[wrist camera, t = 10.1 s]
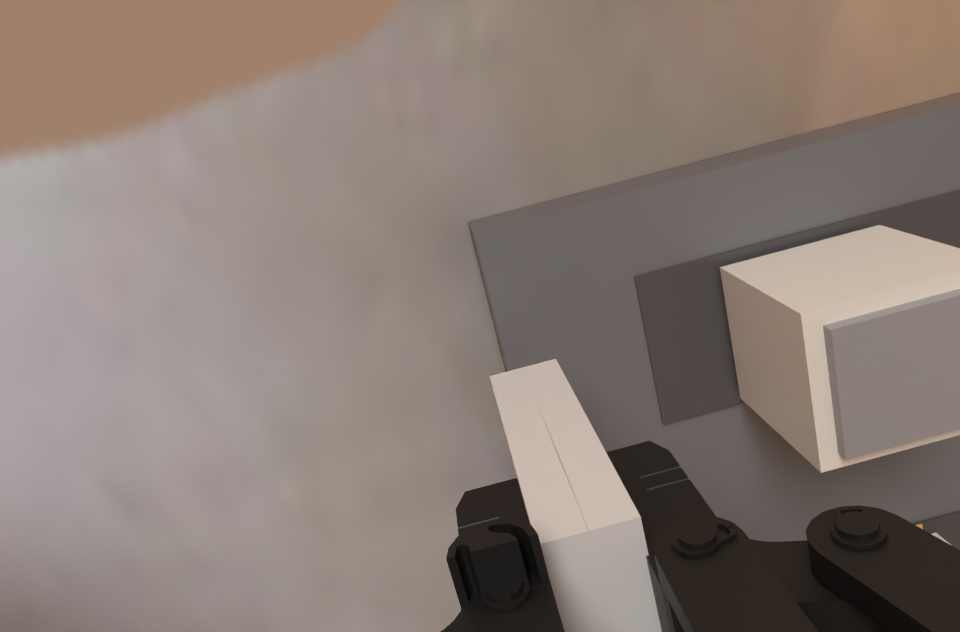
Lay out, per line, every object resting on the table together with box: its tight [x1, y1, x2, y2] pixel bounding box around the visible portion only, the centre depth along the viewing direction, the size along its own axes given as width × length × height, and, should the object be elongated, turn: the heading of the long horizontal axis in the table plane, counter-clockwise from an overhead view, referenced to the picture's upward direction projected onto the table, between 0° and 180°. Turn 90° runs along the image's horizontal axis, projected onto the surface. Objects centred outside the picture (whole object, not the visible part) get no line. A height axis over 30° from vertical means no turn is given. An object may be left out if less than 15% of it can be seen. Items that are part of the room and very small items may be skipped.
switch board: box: [468, 93, 960, 550], centre depth 22 cm, size 21×17×2 cm
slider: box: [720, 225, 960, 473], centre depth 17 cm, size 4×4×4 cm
